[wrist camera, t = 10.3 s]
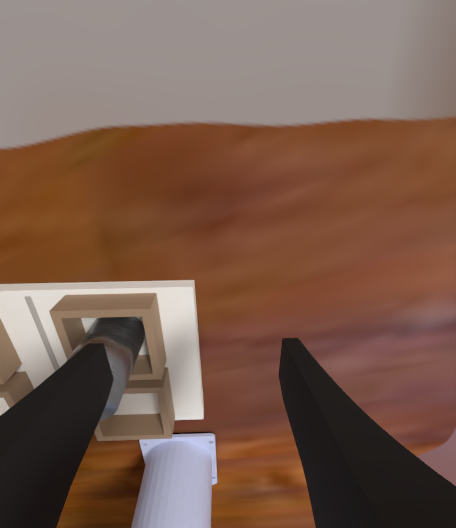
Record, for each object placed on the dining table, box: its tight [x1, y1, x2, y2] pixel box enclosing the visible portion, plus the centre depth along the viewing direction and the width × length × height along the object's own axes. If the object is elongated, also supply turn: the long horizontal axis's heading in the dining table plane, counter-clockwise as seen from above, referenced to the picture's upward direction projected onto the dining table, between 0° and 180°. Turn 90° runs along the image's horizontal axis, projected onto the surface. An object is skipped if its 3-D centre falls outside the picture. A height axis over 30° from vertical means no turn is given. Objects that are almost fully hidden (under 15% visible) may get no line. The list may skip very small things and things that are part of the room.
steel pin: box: [66, 317, 146, 421], centre depth 18 cm, size 4×4×6 cm
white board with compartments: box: [0, 280, 204, 441], centre depth 19 cm, size 15×24×7 cm, turn 91°
